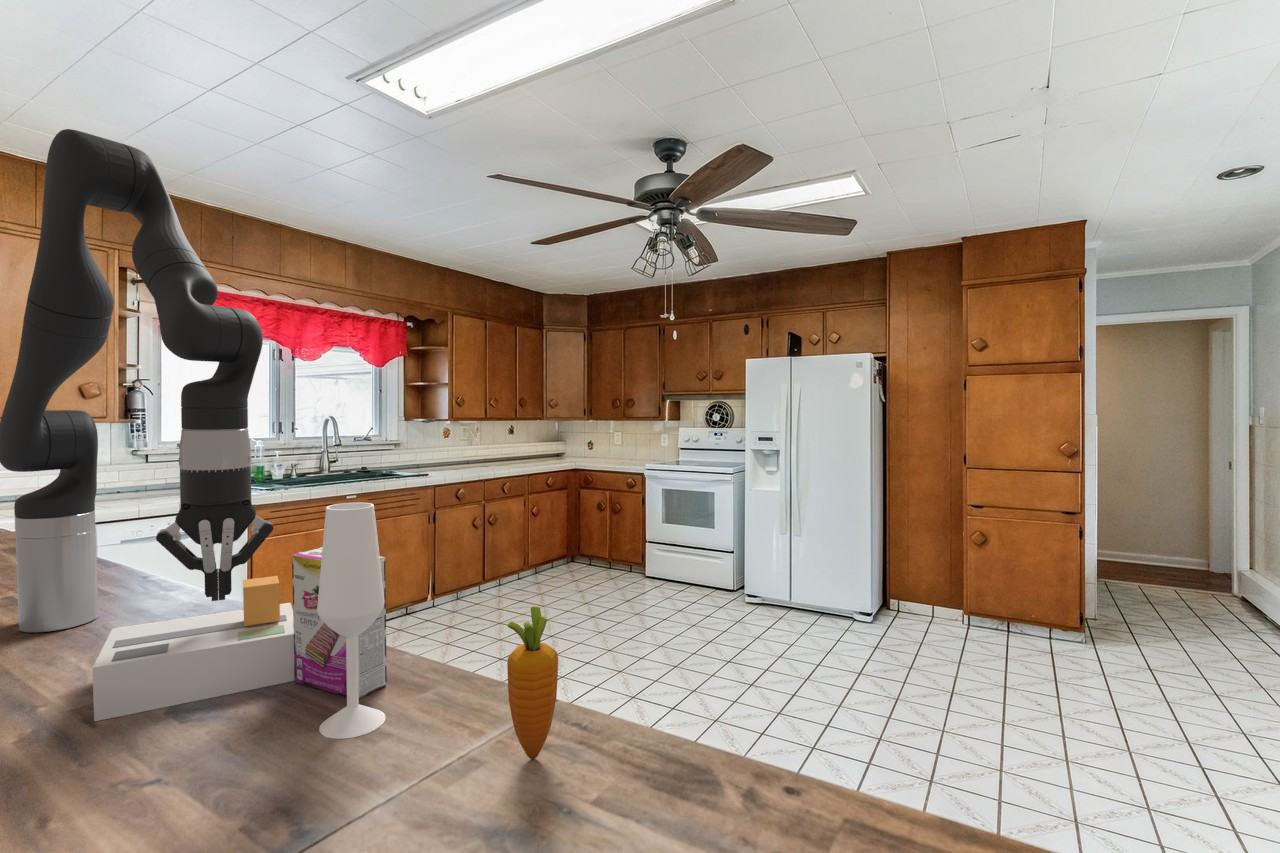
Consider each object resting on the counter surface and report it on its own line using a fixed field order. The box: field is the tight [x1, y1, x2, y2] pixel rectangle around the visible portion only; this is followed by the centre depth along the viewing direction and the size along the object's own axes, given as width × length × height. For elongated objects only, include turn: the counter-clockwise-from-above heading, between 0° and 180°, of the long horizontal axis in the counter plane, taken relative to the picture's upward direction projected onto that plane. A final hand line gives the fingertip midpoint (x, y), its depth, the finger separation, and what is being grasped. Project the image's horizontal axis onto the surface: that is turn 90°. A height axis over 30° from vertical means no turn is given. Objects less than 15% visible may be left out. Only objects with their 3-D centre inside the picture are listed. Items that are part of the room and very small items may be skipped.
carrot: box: [506, 605, 559, 761], centre depth 63 cm, size 5×5×15 cm
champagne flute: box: [317, 502, 386, 740], centre depth 70 cm, size 7×7×24 cm
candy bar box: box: [291, 546, 388, 700], centre depth 79 cm, size 11×5×16 cm, turn 65°
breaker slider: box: [242, 575, 281, 626], centre depth 84 cm, size 4×4×5 cm
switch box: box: [92, 602, 295, 722], centre depth 81 cm, size 14×20×6 cm
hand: (218, 598), depth 82 cm, fingers closed
